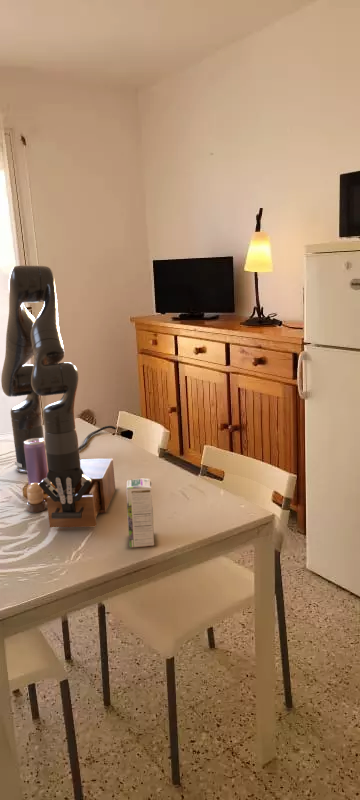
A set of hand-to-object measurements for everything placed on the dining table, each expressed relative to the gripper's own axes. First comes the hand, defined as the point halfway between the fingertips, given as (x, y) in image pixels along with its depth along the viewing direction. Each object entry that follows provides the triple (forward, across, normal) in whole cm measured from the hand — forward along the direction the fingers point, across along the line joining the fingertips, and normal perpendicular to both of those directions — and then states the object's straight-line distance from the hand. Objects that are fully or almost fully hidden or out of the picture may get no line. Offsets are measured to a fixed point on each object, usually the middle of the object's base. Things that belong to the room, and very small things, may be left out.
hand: (69, 516), depth 147 cm
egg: (+5, +13, -15) cm, 21 cm away
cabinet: (+5, 0, -19) cm, 20 cm away
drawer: (+4, 0, -7) cm, 8 cm away
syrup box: (+5, -18, +5) cm, 19 cm away
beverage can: (+5, +16, -28) cm, 33 cm away
